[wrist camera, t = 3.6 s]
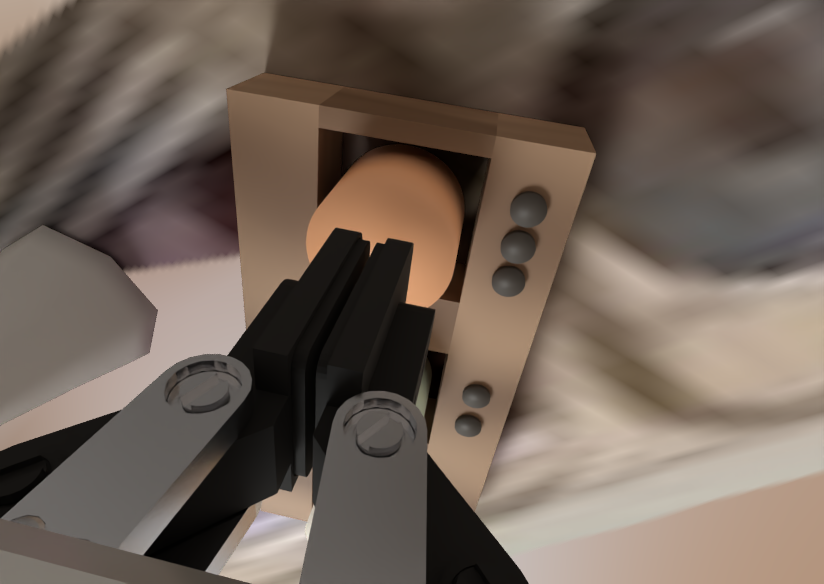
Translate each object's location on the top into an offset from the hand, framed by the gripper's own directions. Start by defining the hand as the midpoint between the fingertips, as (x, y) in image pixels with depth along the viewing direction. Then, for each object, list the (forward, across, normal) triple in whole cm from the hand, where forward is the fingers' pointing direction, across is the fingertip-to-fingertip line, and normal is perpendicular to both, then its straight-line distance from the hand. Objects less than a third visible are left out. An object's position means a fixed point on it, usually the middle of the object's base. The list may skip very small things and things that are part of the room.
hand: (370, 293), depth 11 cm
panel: (+7, 0, +8) cm, 10 cm away
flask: (+7, +14, +9) cm, 18 cm away
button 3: (+6, 0, +1) cm, 6 cm away
